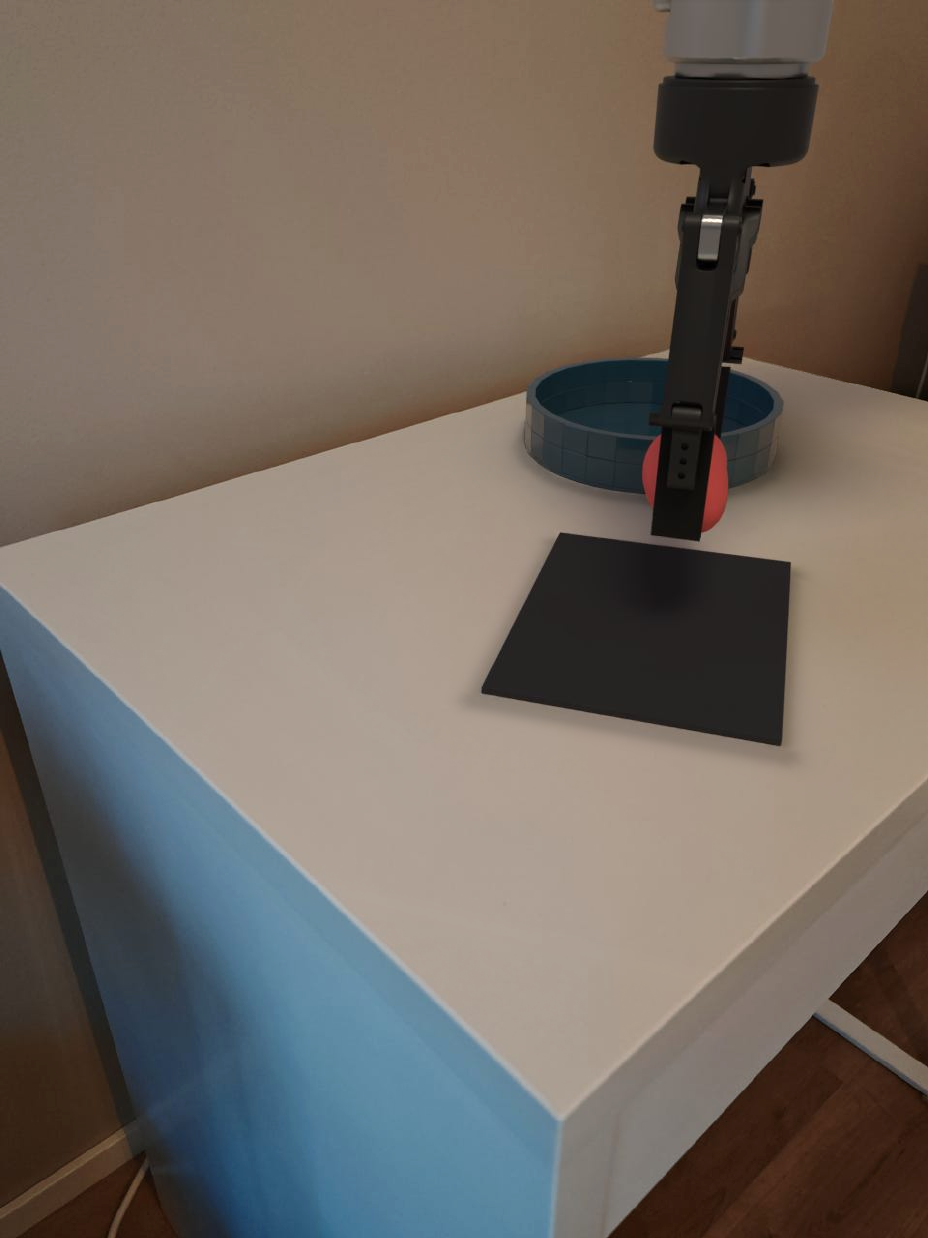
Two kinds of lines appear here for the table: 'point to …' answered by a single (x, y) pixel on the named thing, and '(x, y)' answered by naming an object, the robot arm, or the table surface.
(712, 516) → the stress ball
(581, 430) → the bowl
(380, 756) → the table surface
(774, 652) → the mat
